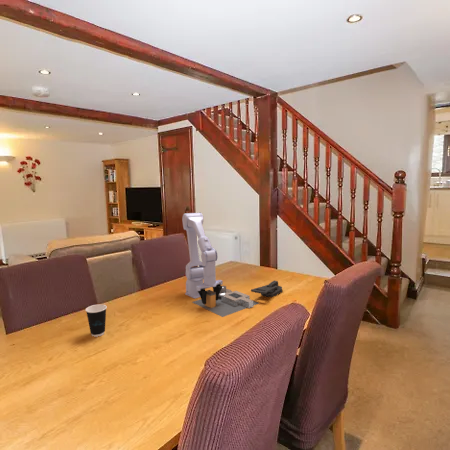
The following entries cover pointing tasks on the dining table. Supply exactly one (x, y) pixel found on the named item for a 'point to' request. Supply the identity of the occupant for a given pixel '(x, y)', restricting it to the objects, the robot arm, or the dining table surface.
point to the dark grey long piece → (269, 289)
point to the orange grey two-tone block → (211, 299)
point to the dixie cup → (96, 319)
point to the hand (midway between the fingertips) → (210, 301)
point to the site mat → (222, 307)
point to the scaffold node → (235, 298)
